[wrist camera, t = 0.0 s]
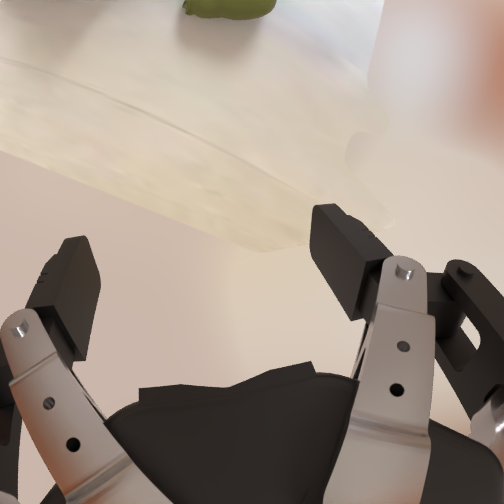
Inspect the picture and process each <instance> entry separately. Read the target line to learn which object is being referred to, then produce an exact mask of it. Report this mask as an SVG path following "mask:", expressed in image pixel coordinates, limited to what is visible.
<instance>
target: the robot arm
mask: <svg viewBox="0 0 504 504" xmlns="http://www.w3.org/2000/svg"><path fill="white" fill-rule="evenodd" d="M310 252H311V256H312V259H313V260H314V262H315V264H316V265H317V267H318V269H319V270H320V272H321V273H322V275H323V276H324V278H325V280H326V281H327V283H328V284H329V286H330V288H331V289H332V291H333V293H334V294H335V296H336V298H337V299H338V301H339V302H340V304H341V306H342V307H343V309H344V311H345V312H346V314H347V316H348V317H349V319H350V321H354V320H358V319H362V318H364V319H365V321H366V324H365V327H364V330H363V334H362V338H361V342H360V346H359V349H358V353H357V357H356V360H355V364H354V367H353V370H352V374H351V377H350V378H349V377H345V376H342V375H337V374H332V373H321V372H319V373H318V372H317V373H316V372H315V369H314V367H313V365H312V362H311V361H309V362H304V363H300V364H296V365H292V366H286V367H282V368H277V369H272V370H269V371H267V372H264V373H262V374H260V375H257V376H255V377H253V378H250V379H248V380H246V381H243V382H241V383H238V384H236V385H234V386H231V387H226V388H219V387H205V386H193V385H183V384H179V385H171V386H160V387H150V388H139V401H138V402H135V403H132V404H130V405H128V406H125V407H124V408H122V409H120V410H119V411H117V412H116V413H114V414H113V415H112V416H110V417H109V418H108V419H107V418H106V416H105V415H104V414H103V413H102V411H101V410H100V409H99V407H98V406H97V405H96V403H95V402H94V400H93V399H92V398H91V396H90V395H89V394H88V392H87V391H86V389H85V388H84V386H83V385H82V383H81V382H80V380H79V379H78V377H77V376H76V374H75V373H74V371H73V370H72V365H73V362H74V361H86V356H87V350H88V345H89V339H90V334H91V329H92V324H93V319H94V314H95V310H96V305H97V301H98V297H99V293H100V288H101V281H100V274H99V271H98V268H97V265H96V263H95V259H94V256H93V254H92V251H91V248H90V245H89V241H88V239H87V237H86V236H78V237H72V238H66V239H65V240H64V241H63V243H62V245H61V247H60V249H59V251H58V253H57V254H55V255H53V256H52V258H51V259H50V260H49V261H48V262H47V263H46V264H45V266H44V268H43V270H42V272H41V276H39V278H38V280H37V284H35V286H34V288H33V291H32V293H31V295H30V297H29V300H28V302H27V304H26V307H25V309H21V310H18V311H16V312H14V313H13V314H11V315H10V316H9V317H8V318H7V319H6V320H5V322H4V323H3V325H2V327H1V329H0V504H20V503H19V502H18V459H19V445H20V433H21V425H22V419H23V421H24V423H25V425H26V428H27V430H28V431H29V434H30V436H31V438H32V440H33V442H34V444H35V446H36V448H37V450H38V452H39V454H40V455H41V457H42V459H43V461H44V463H45V464H46V466H47V468H48V470H49V472H50V473H51V475H52V477H53V478H54V480H55V482H56V484H55V485H54V486H53V488H52V489H51V490H50V491H49V492H48V494H47V495H46V496H45V498H44V499H43V500H42V502H41V503H40V504H504V297H503V296H502V295H501V294H500V292H499V291H498V290H497V289H496V288H495V287H494V286H493V285H492V284H491V283H490V281H489V280H488V279H487V278H486V277H485V276H484V275H483V274H482V273H481V272H480V271H479V270H478V269H477V268H476V267H475V266H473V265H472V264H470V263H468V262H466V261H463V260H456V259H455V260H451V261H449V262H448V263H447V265H446V268H445V270H444V273H429V272H426V271H425V269H424V267H423V266H422V265H421V264H420V263H418V262H417V261H415V260H413V259H411V258H408V257H405V256H394V255H393V254H392V253H391V252H390V251H389V250H388V249H387V247H385V245H384V244H383V243H382V242H381V241H380V240H379V239H378V238H377V237H375V235H374V234H373V233H372V232H371V231H369V229H368V228H367V227H366V226H365V225H364V224H363V223H362V222H361V221H359V220H358V219H356V218H354V217H352V216H350V215H346V214H345V212H344V211H343V210H342V209H341V208H340V207H339V206H338V205H336V204H335V203H333V204H323V205H315V206H314V207H313V211H312V221H311V233H310ZM466 316H467V317H468V318H469V320H470V321H471V322H472V323H473V325H474V326H475V327H476V329H477V330H478V332H479V334H480V340H481V341H480V346H479V348H478V349H477V350H476V348H475V347H474V345H473V344H472V342H471V341H470V340H469V338H468V337H467V335H466V334H465V333H464V331H463V330H462V328H461V327H460V326H461V324H462V323H463V320H464V319H465V317H466ZM434 358H435V359H436V360H437V362H438V364H439V366H440V367H441V369H442V371H443V372H444V374H445V375H446V377H447V379H448V381H449V383H450V384H451V386H452V388H453V390H454V391H455V393H456V395H457V397H458V398H459V400H460V402H461V404H462V406H463V407H464V409H465V411H466V413H467V415H468V417H469V418H470V421H471V426H470V427H471V433H470V434H469V436H468V437H467V436H464V435H463V434H460V433H458V432H456V431H454V430H452V429H450V428H448V427H446V426H443V425H442V424H440V423H438V422H435V421H433V420H431V419H430V418H429V416H430V408H431V399H432V388H433V387H432V386H433V376H434Z"/></svg>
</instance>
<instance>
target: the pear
mask: <svg viewBox="0 0 504 504" xmlns="http://www.w3.org/2000/svg"><path fill="white" fill-rule="evenodd" d="M275 4H276V0H185V2H184V4H183V6H185V7H183V8H185V9H186V14H188V15H193V14H194V15H196V16H198V17H201V18H218V17H223V18H227V19H232V20H248V19H254V18H258V17H261V16H264V15H266V14H268V13H269V12H271V11H272V9H273V8H274V6H275Z"/></svg>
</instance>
